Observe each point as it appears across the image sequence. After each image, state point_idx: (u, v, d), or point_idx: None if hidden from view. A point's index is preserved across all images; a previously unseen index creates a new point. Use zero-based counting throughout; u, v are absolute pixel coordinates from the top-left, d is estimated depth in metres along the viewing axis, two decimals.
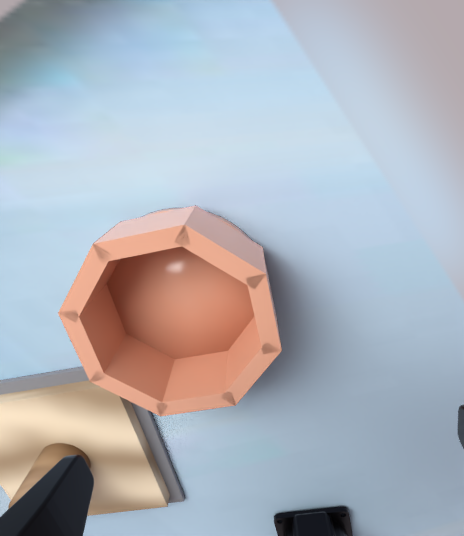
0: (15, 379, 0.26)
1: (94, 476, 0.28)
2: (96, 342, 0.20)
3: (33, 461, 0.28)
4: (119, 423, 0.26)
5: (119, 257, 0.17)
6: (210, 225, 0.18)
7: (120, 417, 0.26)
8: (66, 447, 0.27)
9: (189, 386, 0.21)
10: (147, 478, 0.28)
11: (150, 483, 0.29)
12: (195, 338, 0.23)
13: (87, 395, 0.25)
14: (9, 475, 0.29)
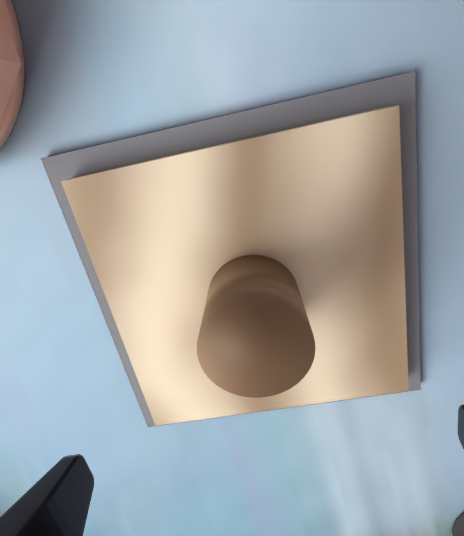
0: (113, 336, 0.18)
1: (292, 253, 0.15)
2: None
3: None
4: (150, 185, 0.14)
5: None
6: None
7: (134, 181, 0.14)
8: (209, 287, 0.15)
9: None
10: (301, 145, 0.13)
11: (317, 139, 0.13)
12: None
13: (93, 232, 0.15)
14: None
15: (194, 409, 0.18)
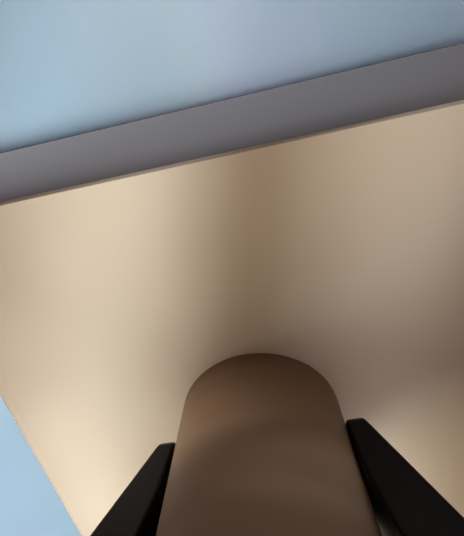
0: None
1: (332, 352, 0.08)
2: None
3: None
4: (70, 234, 0.07)
5: None
6: None
7: (39, 228, 0.07)
8: (184, 406, 0.09)
9: None
10: (360, 161, 0.07)
11: (392, 151, 0.07)
12: None
13: None
14: None
15: None
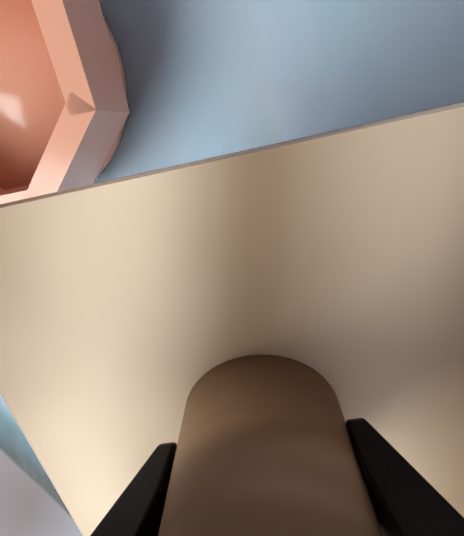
0: None
1: (333, 353, 0.08)
2: None
3: None
4: (71, 236, 0.07)
5: None
6: None
7: (41, 230, 0.07)
8: (185, 407, 0.09)
9: None
10: (361, 163, 0.07)
11: (394, 153, 0.07)
12: None
13: None
14: None
15: None
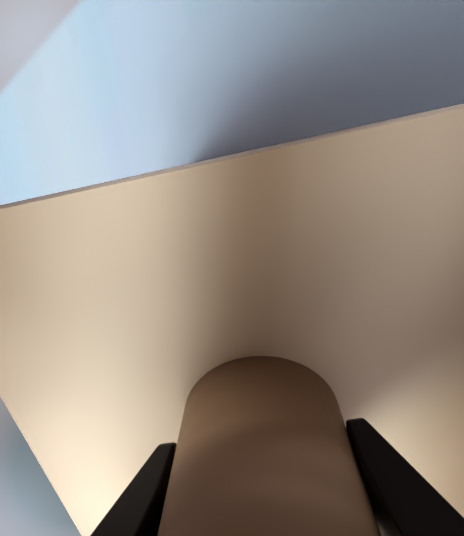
0: None
1: (332, 354, 0.08)
2: None
3: None
4: (71, 238, 0.07)
5: None
6: None
7: (39, 231, 0.07)
8: (184, 408, 0.09)
9: None
10: (360, 165, 0.07)
11: (393, 155, 0.07)
12: None
13: None
14: None
15: None
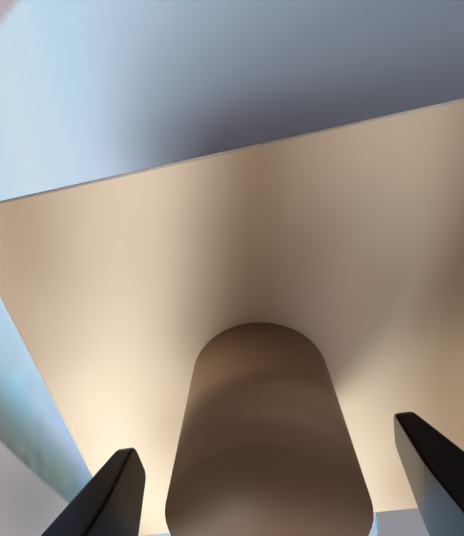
0: None
1: (321, 321, 0.10)
2: None
3: None
4: (99, 219, 0.09)
5: None
6: None
7: (73, 213, 0.09)
8: (194, 369, 0.10)
9: None
10: (341, 157, 0.08)
11: (368, 149, 0.08)
12: None
13: (15, 289, 0.10)
14: None
15: None
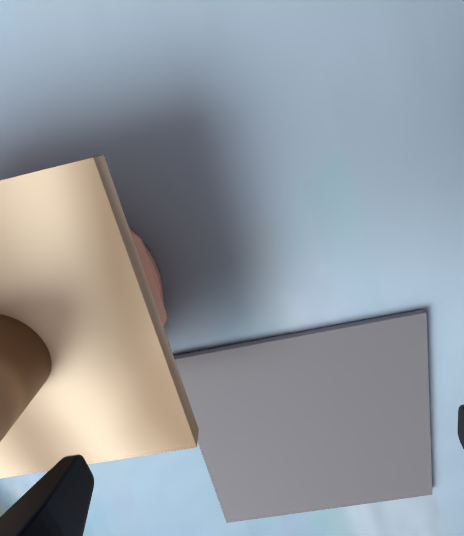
0: (206, 463, 0.24)
1: (29, 311, 0.14)
2: None
3: None
4: None
5: None
6: None
7: None
8: None
9: None
10: (2, 200, 0.12)
11: (17, 194, 0.12)
12: None
13: None
14: (68, 446, 0.16)
15: None
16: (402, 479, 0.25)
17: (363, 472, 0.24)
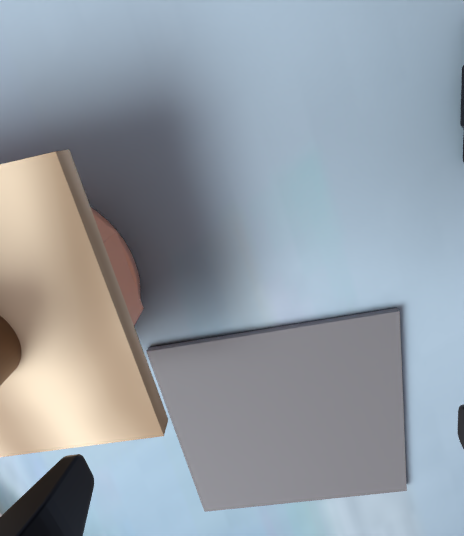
0: (184, 453, 0.25)
1: None
2: None
3: None
4: None
5: None
6: None
7: None
8: None
9: None
10: None
11: None
12: None
13: None
14: (39, 431, 0.17)
15: None
16: (376, 475, 0.25)
17: (338, 466, 0.25)
